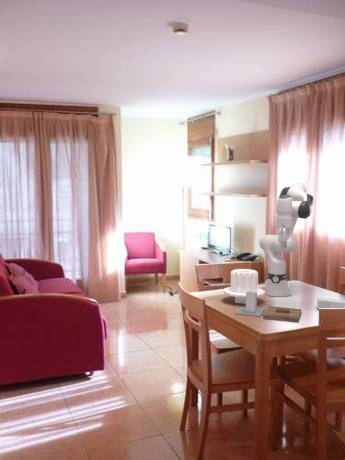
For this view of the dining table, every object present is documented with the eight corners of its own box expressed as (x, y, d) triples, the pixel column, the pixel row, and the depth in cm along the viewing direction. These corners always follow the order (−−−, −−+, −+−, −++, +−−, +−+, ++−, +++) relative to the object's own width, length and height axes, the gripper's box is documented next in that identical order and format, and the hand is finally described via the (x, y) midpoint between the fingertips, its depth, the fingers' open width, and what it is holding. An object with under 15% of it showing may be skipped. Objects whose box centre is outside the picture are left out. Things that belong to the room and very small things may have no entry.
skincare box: (317, 297, 254) (344, 299, 250) (317, 307, 255) (344, 309, 250) (317, 300, 246) (345, 302, 242) (317, 310, 247) (345, 312, 242)
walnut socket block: (268, 310, 248) (268, 305, 248) (301, 313, 241) (301, 309, 241) (263, 318, 231) (263, 314, 231) (298, 322, 225) (298, 317, 224)
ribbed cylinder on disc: (264, 308, 252) (265, 275, 251) (221, 305, 257) (222, 274, 256) (264, 297, 277) (265, 268, 275) (225, 295, 282) (225, 266, 280)
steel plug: (247, 310, 246) (248, 290, 245) (256, 311, 244) (257, 291, 243) (245, 312, 241) (245, 292, 240) (254, 313, 239) (254, 293, 238)
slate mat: (240, 307, 253) (240, 306, 253) (264, 310, 248) (264, 309, 248) (234, 314, 240) (234, 313, 240) (260, 316, 235) (260, 315, 235)
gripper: (287, 225, 234) (287, 251, 235) (291, 223, 253) (291, 246, 254) (275, 225, 236) (275, 250, 237) (280, 222, 255) (280, 246, 256)
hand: (283, 248), depth 246 cm, fingers open, 8 cm apart
